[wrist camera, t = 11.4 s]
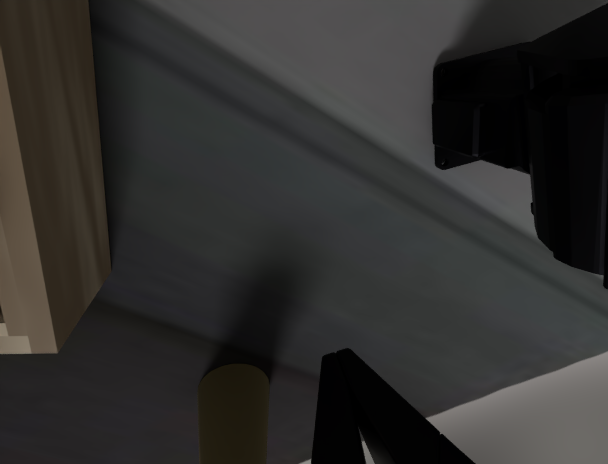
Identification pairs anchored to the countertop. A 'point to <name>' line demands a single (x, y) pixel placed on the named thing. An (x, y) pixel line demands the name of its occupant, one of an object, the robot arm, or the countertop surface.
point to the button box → (48, 174)
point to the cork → (233, 415)
